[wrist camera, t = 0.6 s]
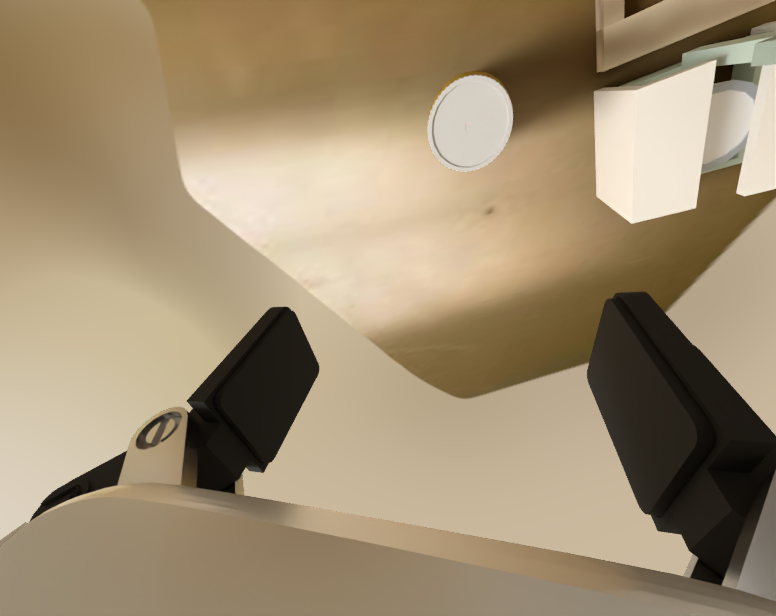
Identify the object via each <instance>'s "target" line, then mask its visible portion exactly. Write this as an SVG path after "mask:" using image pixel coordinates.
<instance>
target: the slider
mask: <svg viewBox="0 0 776 616" xmlns="http://www.w3.org/2000/svg"><path fill="white" fill-rule="evenodd" d="M710 60H717V62H716V66H723V65H732V64H734V65H733V71H732V77H731V80H739V81H746V82H753V83H754V84H755V85H756V86H757V87H758V85H759V80H760V75H761V70H762V66H763V65H773V64H776V31H774V32H772V31H770V32H765V33H760V34H755V35H751V36H746V37H744V38H740V39H735V40H730V41H725V42H720V43H715V44H711V45H706V46H701V47H698V48H696V49H693V50H691V51H688V52H686V53H683V55H682V62H680V63H677V64H675V65H672V66H670V67H667V68H665V69H662V70H659V71H657V72H654V73H652V74H649V75H647V76H644V77H642V78H639V79H636V80H634V81H631V82H629V83H626V84H624V85H621V86H619V87H626V86H643V85H646V84H648V83H651V82H654V81H656V80H659V79H661V78H664V77H667V76H669V75H672V74H674V73H677V72H680V71H682V70H685V69H688V68H690V67H693V66H695V65H698V64H701V63H703V62H706V61H710ZM745 148H746V147H744V148H743V149H742V150H740V151H739V152H738V153H737V154H735V155H734V156H733V157H732V158H730V159H729V160H728V161H726V162H724V163H722V164H720V165H718V166H716V167H714V168H712V169H710V170H707V171H702V172H701V174H703V173H707V172H710V171H714V170H718V169H721V168H725V167H728V166H732V165H736V164H739V163H743V158H744V153H745Z"/></svg>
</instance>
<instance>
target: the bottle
mask: <svg viewBox="0 0 776 616" xmlns="http://www.w3.org/2000/svg"><path fill="white" fill-rule="evenodd" d="M512 106H513V105H512V104H511V99H510V97H509V93H508V91H507V90H506V88H505V87H504V85H503V84H502V82H501V81H500V80H499V79H497V78H496V77H494V76H493V75H491V74H489V73H486V72H480V71H471V72H466V73H462V74H460V75H458V76H456V77H455V78H453V79H451V80H450V81H449V82H447V83H446V85H445V86H444V87H443V88H442V89H441V90H440V91H439V93H438V94H437V96H436V98H435V100H434V102H433V104H432V106H431V109H430V114H429V119H428V126H427V128H428V131H427V133H428V139H429V143H430V148H431V149H432V152H433V153H434V155H435V156H436V158H437V159H438V160H439V161H440V163H442V164H443V165H445V166H446V167H447V168H450V169H453V170H454V171H459V172H460V171H462V172H469V171H473V170H478V169H480V168H482V167H484V166H486V165H487V164H489V163H490V162H491V161H493V160H494V159H495V158H496V157H497V156H498V155H499V154H500V153H501V152H502V150H503V149H504V147H505V145H506V144H507V141H508V139H509V136H510V134H511V129H512V127H513V126H512V124H513V117H514V115H513V109H512Z"/></svg>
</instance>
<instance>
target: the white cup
mask: <svg viewBox="0 0 776 616" xmlns="http://www.w3.org/2000/svg"><path fill="white" fill-rule="evenodd" d="M757 89H758V87H757V86H756V85H755V84H754V83H753V82H746V81H739V80H730V81H725V82H720V83H715V84H713V90H712V97H711V104H710V111H709V118H708V125H707V132H706V139H705V146H704V154H703V161H702V168H701V172H702V171H707V170H710V169H712V168H714V167H716V166H718V165H720V164H722V163H724V162H726V161H728V160H729V159H730V158H732V157H733V156H734V155H735V154H737V153H738V152H739V151H740V150H742V149H743V148H744V147H746V143H747V138H748V133H749V128H750V124H751V119H752V114H753V109H754V104H755V99H756V94H757Z"/></svg>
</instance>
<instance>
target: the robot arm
mask: <svg viewBox="0 0 776 616" xmlns="http://www.w3.org/2000/svg"><path fill="white" fill-rule="evenodd" d="M318 373H319V365H318V362H317V360H316V358H315V355H314V353H313V351H312V349H311V347H310V344H309V342H308V340H307V338H306V336H305V334H304V331H303V329H302V327H301V325H300V323H299V320H298V318H297V316H296V314H295V312H293V311H291V309H290V308H288V307H272V308H270V309H269V310H268V311H267V312H266V313H265V314H264V315H263V316H262V317H261V318H260V320H259V321H258V322H257V323H256V324H255V325H254V326H253V328H252V329H251V330H250V331H249V332H248V333H247V334H246V335H245V336H244V337H243V339H242V340H241V341H240V342H239V343H238V344H237V345H236V347H234V349H233V350H232V351H231V352H230V353H229V354H228V355H227V356H226V358H225V359H224V360H223V361H222V362H221V363H220V364H219V365H218V367H217V368H216V369H215V370H214V371H213V372H212V373H211V374H210V375H209V377H208V378H207V379H206V380H205V381H204V382H203V383H202V384H201V385H200V387H199V388H198V389H197V390H196V391H195V392H194V393H193V394H192V396H191V397H190V398H189V399H188V400H187V402H188V403H189V404H190V405H191V407H192V408H193V409H192V410H191V412H190V413H189V412H188V411H187V410H185V408H182V407H173V408H169V409H167V410H164V411H162V412H160V413H158V414H156V415H155V416H153V417H152V418H151V419H149V420H148V421H146V422H145V423H144V424H143V425H142V426H141V427H140V428H139V429H138V430H137V432H136V433H135V434H134V436H133V437H132V439H131V441H130V444H129V447H128V450H127V451H126V452H124V453H122V454H120V455H118V456H116V457H114V458H113V459H111V460H109V461H107V462H105V463H103V464H101V465H99V466H98V467H96V468H94V469H92V470H90V471H88V472H86V473H85V474H83V475H81V476H79V477H77V478H75V479H73V480H72V481H70V482H69V483H67V484H65V485H63V486H61V487H60V488H58V489H57V490H55V491H54V492H52V493H51V494H50V495H49V496H48V497H47V498H46V499H45V500H44V501H43V502H42V503H41V506H40V507H39V508H38V510H37V511H36V512H35V513H34V514H33V516H32V518H31V520H30V522H29V523H26V522H25V523H24V524H22V525H21V526H20V527H18V528H17V529H15V530H14V531H13V532H11V533H10V534H9V535H7V536H6V537H4V538H3V539H2V540H0V616H776V436H775V434H774V433H773V432H772V431H771V430H770V429H769V428H768V426H767V425H766V424H765V423H764V422H763V421H762V420H761V419H760V417H759V416H758V415H757V414H756V413H755V412H754V411H753V410H752V409H751V407H750V406H749V405H748V404H747V403H746V402H745V400H744V399H743V398H742V397H741V396H740V395H739V394H738V393H737V392H736V390H735V389H734V388H733V387H732V386H731V385H730V384H729V382H728V381H727V380H726V379H725V378H724V377H723V376H722V375H721V373H720V372H719V371H718V370H717V369H716V368H715V367H714V365H713V364H712V363H711V362H710V361H709V360H708V359H707V358H706V356H704V354H703V353H702V352H701V351H700V350H699V349H698V348H697V347H696V346H694V345H692V343H690V341H689V340H688V339H687V338H686V337H685V336H684V334H683V333H682V332H681V331H680V330H679V329H678V327H676V325H675V324H674V323H673V322H672V321H671V320H670V318H669V317H668V316H667V315H666V314H665V313H664V311H663V310H662V309H661V308H660V307H659V306H658V305H657V303H656V302H655V301H654V300H653V299H652V298H651V297H650V295H649V294H647V293H646V292H624V293H616V294H615V295H614V297H613V299H607V300H606V301H605V304H604V308H603V312H602V316H601V319H600V323H599V327H598V331H597V335H596V339H595V343H594V346H593V350H592V354H591V358H590V362H589V366H588V370H587V378H588V383H589V385H590V388H591V390H592V393H593V395H594V397H595V400H596V402H597V405H598V407H599V410H600V412H601V415H602V417H603V419H604V422H605V424H606V427H607V429H608V432H609V434H610V437H611V439H612V441H613V444H614V446H615V449H616V451H617V453H618V456H619V458H620V461H621V463H622V466H623V468H624V471H625V473H626V476H627V478H628V480H629V483H630V485H631V488H632V490H633V493H634V495H635V498H636V500H637V502H638V505H639V507H640V508H641V510H642V511H643V512H644V513H645V514H649V515H651V516H652V519H653V521H654V523H655V526H656V528H657V530H658V531H661V532H668V533H675V534H681V535H682V537H683V539H684V541H685V543H686V545H687V547H688V549H689V551H690V552H691V553H693V555H692V558H691V560H690V562H689V565H688V567H687V569H686V571H685V574H684V576H679V575H675V574H670V573H665V572H660V571H655V570H650V569H645V568H640V567H635V566H630V565H625V564H620V563H615V562H610V561H605V560H599V559H595V558H590V557H585V556H579V555H574V554H570V553H564V552H559V551H553V550H547V549H542V548H537V547H531V546H526V545H520V544H514V543H509V542H504V541H498V540H493V539H487V538H482V537H476V536H471V535H465V534H460V533H454V532H449V531H443V530H438V529H432V528H427V527H421V526H415V525H409V524H404V523H399V522H393V521H387V520H382V519H375V518H370V517H365V516H359V515H353V514H348V513H342V512H337V511H331V510H325V509H320V508H314V507H308V506H302V505H296V504H291V503H285V502H279V501H273V500H267V499H261V498H256V497H250V496H244V488H243V475H242V473H243V471H244V469H245V468H247V469H248V470H249V471H255V472H261V473H263V472H264V471H265V469H266V467H267V465H268V463H270V462H272V461H273V460H274V458H275V456H276V454H277V452H278V451H279V449H280V447H281V445H282V443H283V441H284V439H285V437H286V435H287V433H288V431H289V429H290V427H291V426H292V424H293V422H294V420H295V418H296V416H297V414H298V412H299V410H300V408H301V406H302V404H303V402H304V401H305V399H306V397H307V395H308V393H309V391H310V389H311V387H312V385H313V383H314V381H315V379H316V378H317V376H318Z"/></svg>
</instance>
